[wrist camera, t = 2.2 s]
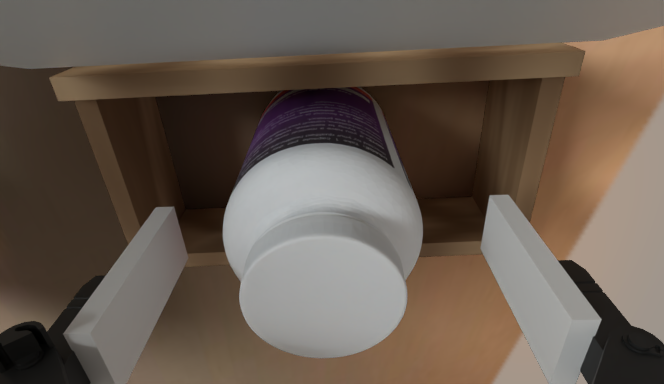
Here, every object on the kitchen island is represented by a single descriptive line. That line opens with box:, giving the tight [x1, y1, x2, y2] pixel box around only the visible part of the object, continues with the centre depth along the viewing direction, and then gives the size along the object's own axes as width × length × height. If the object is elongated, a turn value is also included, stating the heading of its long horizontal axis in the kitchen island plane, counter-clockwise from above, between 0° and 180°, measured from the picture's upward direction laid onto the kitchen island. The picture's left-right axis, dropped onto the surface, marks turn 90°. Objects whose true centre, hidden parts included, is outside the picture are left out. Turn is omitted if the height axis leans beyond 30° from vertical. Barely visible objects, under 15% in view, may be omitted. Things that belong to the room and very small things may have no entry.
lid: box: [0, 0, 664, 69], centre depth 10 cm, size 22×12×1 cm
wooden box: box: [49, 43, 585, 267], centre depth 22 cm, size 22×12×7 cm, turn 93°
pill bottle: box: [223, 87, 423, 358], centre depth 19 cm, size 8×8×14 cm
